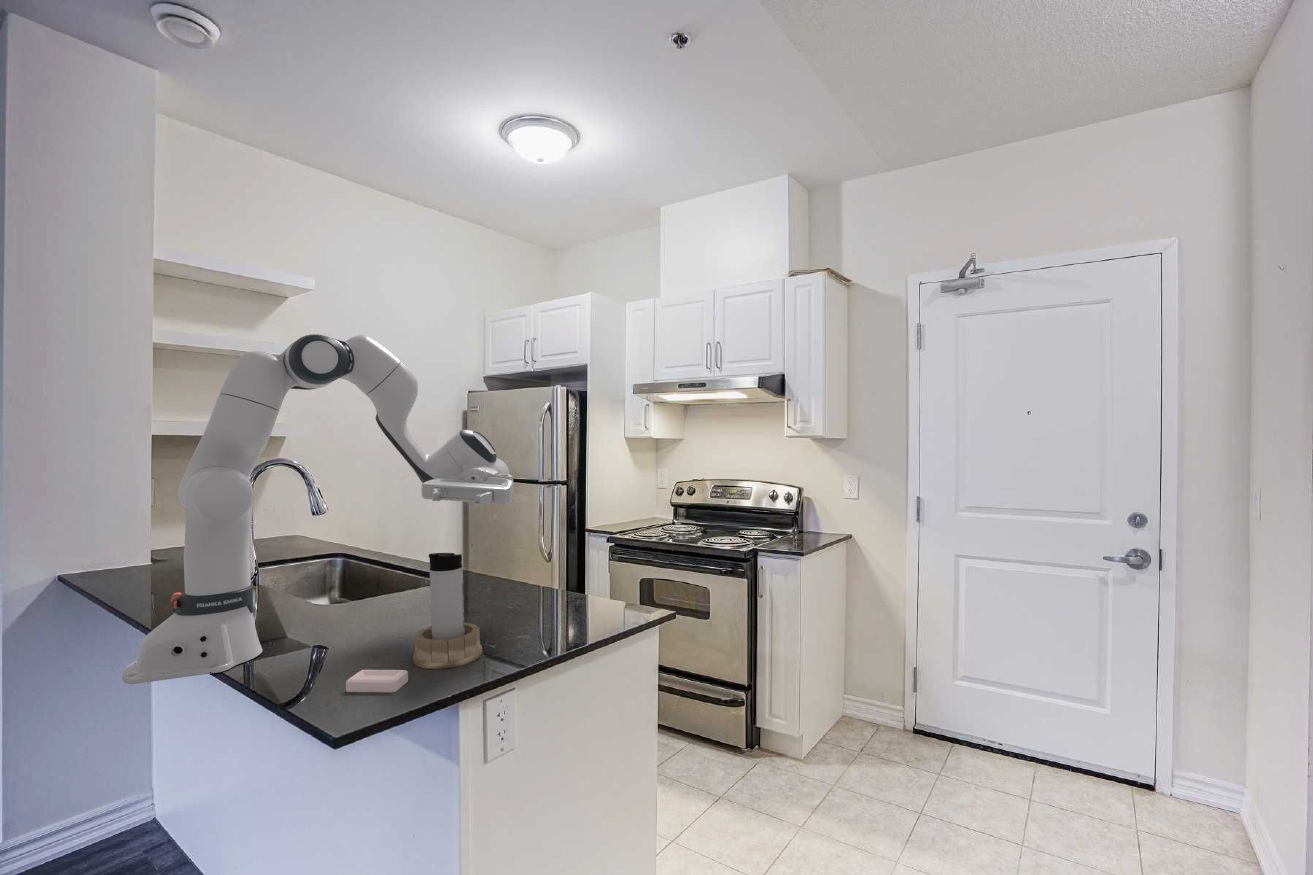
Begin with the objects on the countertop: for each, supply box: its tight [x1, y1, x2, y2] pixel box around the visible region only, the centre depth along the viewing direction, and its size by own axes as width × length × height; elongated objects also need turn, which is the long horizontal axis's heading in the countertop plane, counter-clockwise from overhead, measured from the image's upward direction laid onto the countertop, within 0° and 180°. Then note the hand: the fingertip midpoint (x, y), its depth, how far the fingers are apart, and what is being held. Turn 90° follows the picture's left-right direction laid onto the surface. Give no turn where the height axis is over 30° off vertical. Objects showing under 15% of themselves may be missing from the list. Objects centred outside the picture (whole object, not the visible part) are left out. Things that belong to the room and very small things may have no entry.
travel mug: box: [428, 552, 465, 640], centre depth 129 cm, size 6×7×20 cm
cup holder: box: [412, 622, 483, 670], centre depth 129 cm, size 13×13×5 cm
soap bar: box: [345, 669, 409, 693], centre depth 115 cm, size 5×9×2 cm, turn 86°
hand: (456, 498), depth 140 cm, fingers open, 8 cm apart
